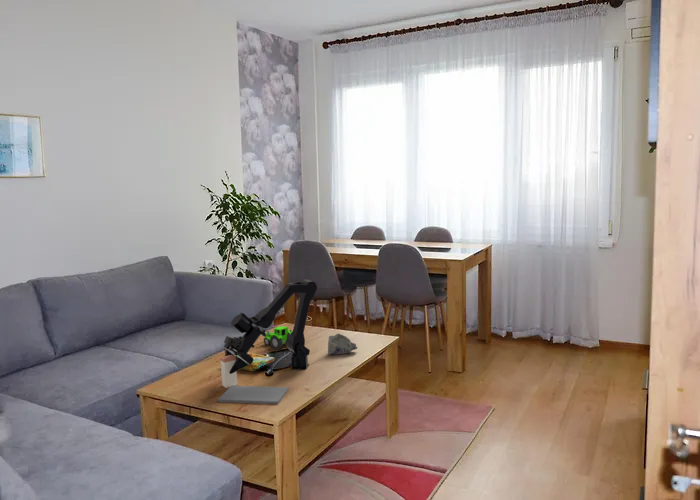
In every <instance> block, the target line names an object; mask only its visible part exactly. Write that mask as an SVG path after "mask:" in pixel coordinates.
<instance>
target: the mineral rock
mask: <svg viewBox="0 0 700 500" xmlns="http://www.w3.org/2000/svg"><path fill="white" fill-rule="evenodd" d="M357 349H358V346H357V343H354V342H352V341H351V339H350V338H349V337H347V336H345V335H344V334H341V333H335V335H329V336H328V342H327V355H328V356H334V355H344V354H347V353H350V352H352V351H355V350H357Z"/></svg>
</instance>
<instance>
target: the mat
mask: <svg viewBox="0 0 700 500" xmlns="http://www.w3.org/2000/svg"><path fill="white" fill-rule="evenodd" d="M288 391H289V386H288V387H287V386H286V387H283V386H256V385H254V386H253V385H252V386H251V385H250V386H249V385H236V386H231V387H228V388H227V390H226V391H225V392H223V394H222V395H220V396H219V398H218V399H217V402H218V403H232V404H233V403H234V404H235V403H237V404H263V405H264V404H266V405H268V404H269V405H279V404H280V402H282V400H283V398H284V397H285V395H286V394H287V393H288Z"/></svg>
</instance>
